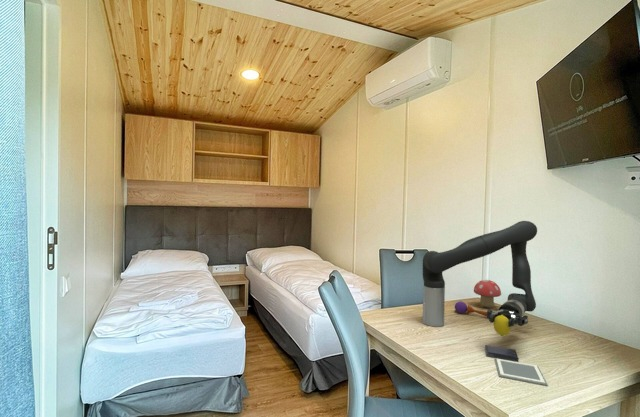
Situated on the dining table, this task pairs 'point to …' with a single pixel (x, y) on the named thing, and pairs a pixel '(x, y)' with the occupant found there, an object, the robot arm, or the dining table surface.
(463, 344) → the dining table surface
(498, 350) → the ink pad
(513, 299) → the robot arm
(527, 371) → the marked board
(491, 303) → the decorative mushroom
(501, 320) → the lemon
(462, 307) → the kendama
